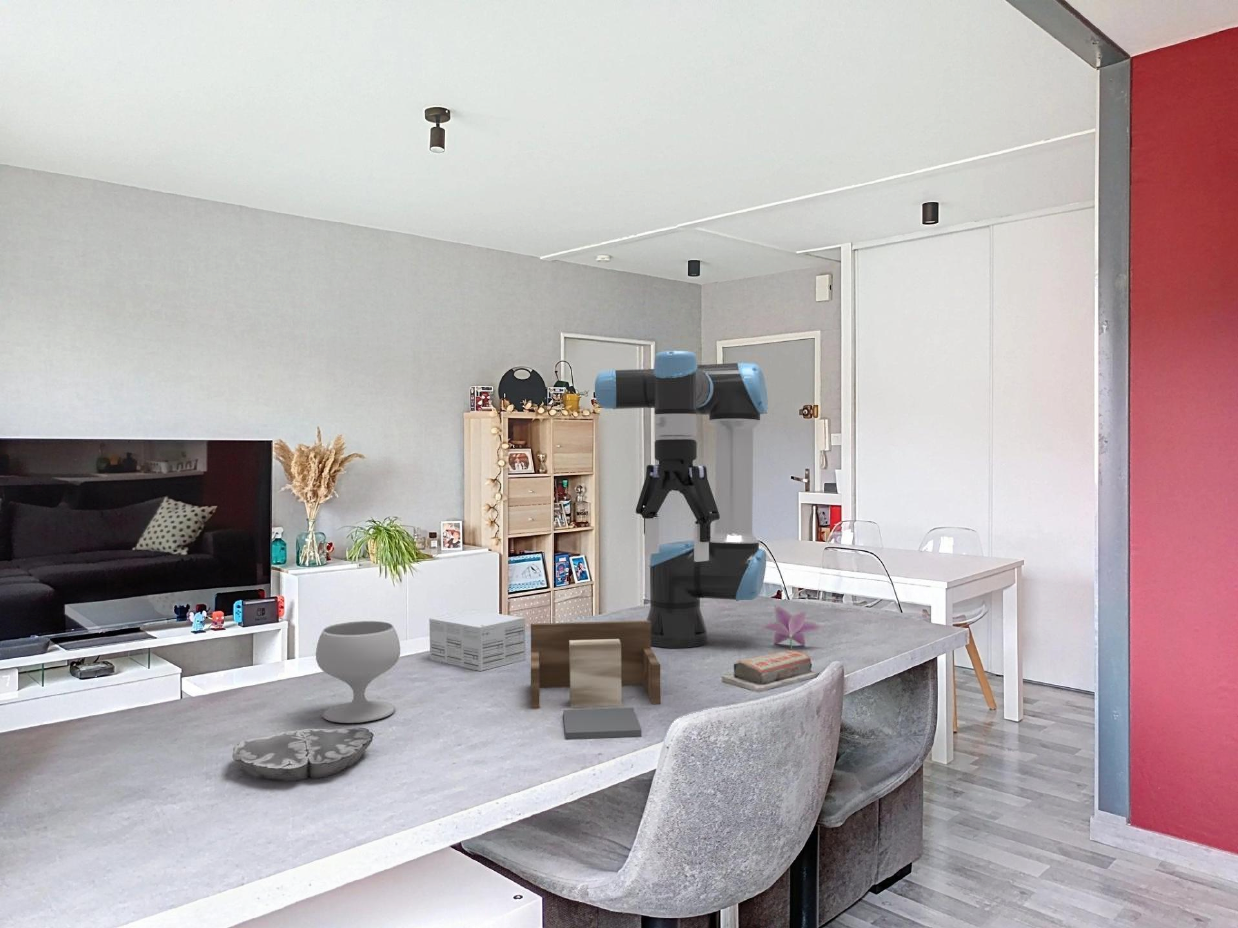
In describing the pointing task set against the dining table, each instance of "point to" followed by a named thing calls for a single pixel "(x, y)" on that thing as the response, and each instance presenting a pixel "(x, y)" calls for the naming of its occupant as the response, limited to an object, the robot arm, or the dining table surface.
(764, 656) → the packaged product
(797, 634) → the lily
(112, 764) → the dining table surface
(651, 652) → the walnut cubby
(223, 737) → the dining table surface
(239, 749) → the brain slice
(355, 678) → the chalice
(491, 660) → the supplement box
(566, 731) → the charcoal mat
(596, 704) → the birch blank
